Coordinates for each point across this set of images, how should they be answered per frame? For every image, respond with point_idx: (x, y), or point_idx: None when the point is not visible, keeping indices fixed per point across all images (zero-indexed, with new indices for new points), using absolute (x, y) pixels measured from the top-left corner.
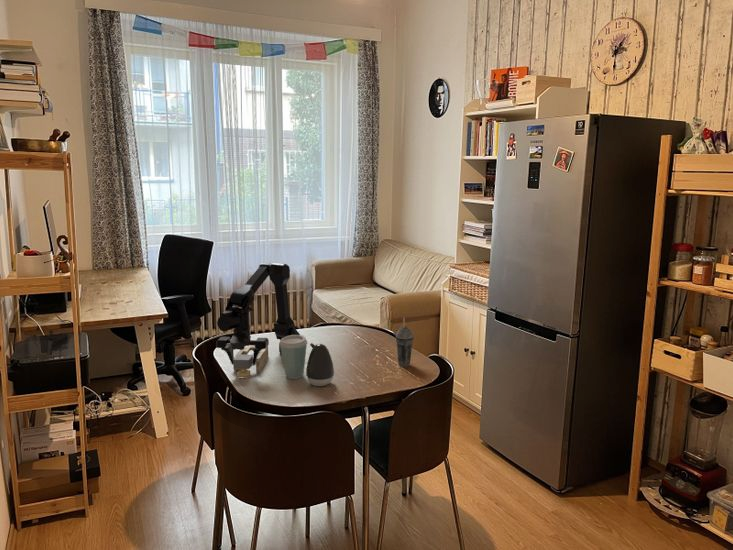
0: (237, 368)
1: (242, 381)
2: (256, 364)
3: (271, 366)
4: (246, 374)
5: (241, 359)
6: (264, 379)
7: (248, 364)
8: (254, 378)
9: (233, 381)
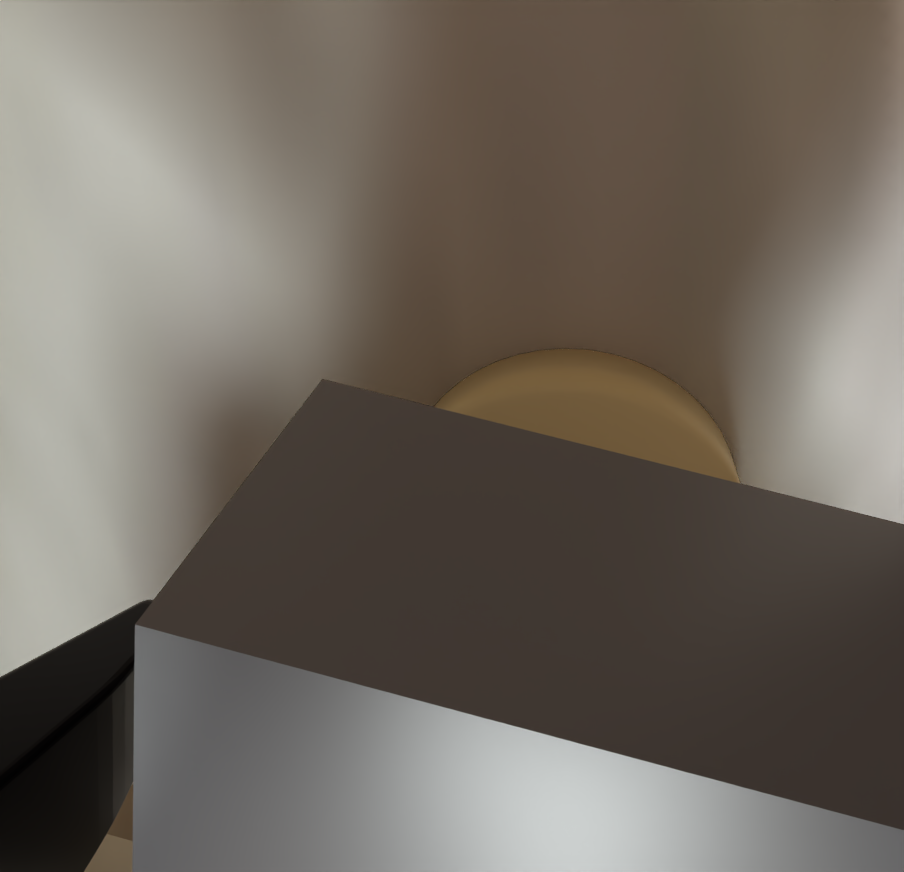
0: (796, 504)
1: (607, 88)
2: None
3: None
4: (481, 402)
5: (631, 820)
6: (13, 157)
7: (281, 477)
8: (283, 276)
9: (892, 131)
